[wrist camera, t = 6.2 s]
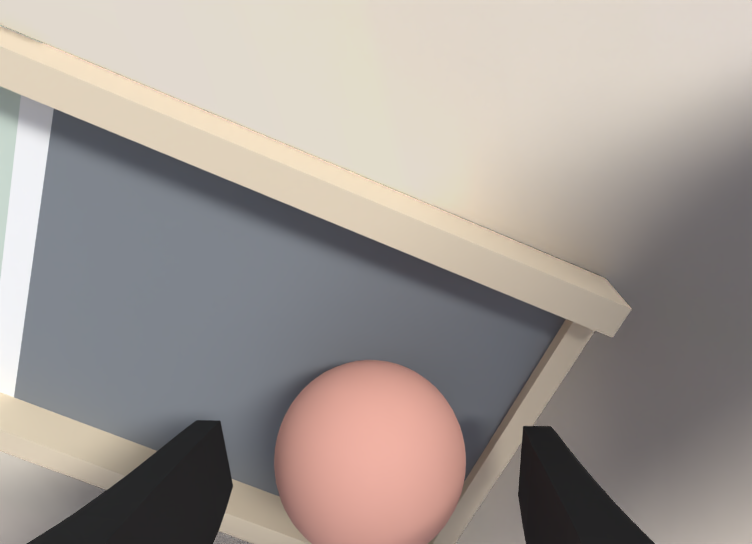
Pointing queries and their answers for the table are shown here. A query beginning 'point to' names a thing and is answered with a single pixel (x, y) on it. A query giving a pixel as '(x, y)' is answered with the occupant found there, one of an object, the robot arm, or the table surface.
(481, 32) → the table surface
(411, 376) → the ball
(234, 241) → the tray
